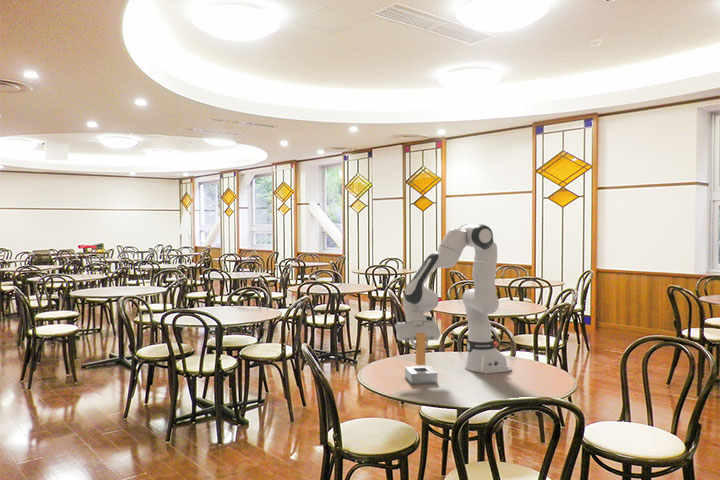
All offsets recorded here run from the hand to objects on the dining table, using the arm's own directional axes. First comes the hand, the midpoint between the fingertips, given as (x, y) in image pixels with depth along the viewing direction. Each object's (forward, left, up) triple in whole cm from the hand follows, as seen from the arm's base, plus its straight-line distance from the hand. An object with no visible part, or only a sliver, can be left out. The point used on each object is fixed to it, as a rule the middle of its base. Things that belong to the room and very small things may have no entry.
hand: (420, 347), depth 239 cm
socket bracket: (0, -1, -15) cm, 15 cm away
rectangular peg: (0, -1, -8) cm, 8 cm away
